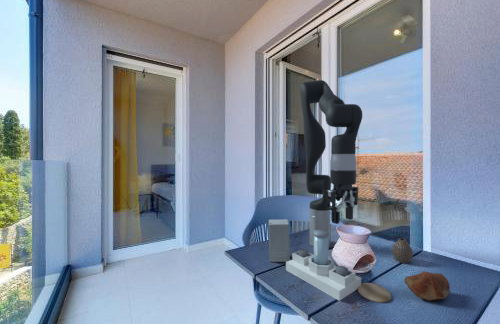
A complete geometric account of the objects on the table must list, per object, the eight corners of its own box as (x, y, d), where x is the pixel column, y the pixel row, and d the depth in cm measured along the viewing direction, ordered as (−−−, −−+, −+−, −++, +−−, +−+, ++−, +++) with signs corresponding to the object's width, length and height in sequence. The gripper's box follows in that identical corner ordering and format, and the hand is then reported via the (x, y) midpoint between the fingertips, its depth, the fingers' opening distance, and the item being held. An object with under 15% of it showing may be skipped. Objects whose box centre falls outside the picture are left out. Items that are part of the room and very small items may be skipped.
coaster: (366, 281, 76) (366, 279, 76) (396, 295, 69) (396, 293, 69) (351, 291, 71) (351, 289, 71) (382, 306, 64) (382, 304, 64)
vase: (393, 263, 89) (394, 241, 89) (390, 255, 96) (390, 235, 95) (414, 266, 87) (415, 243, 86) (409, 258, 93) (410, 237, 93)
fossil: (405, 289, 66) (414, 256, 69) (393, 287, 74) (401, 257, 77) (456, 315, 62) (462, 278, 65) (438, 310, 69) (444, 277, 73)
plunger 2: (340, 273, 75) (340, 264, 75) (350, 278, 72) (350, 269, 72) (333, 277, 73) (333, 267, 72) (343, 282, 70) (344, 272, 70)
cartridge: (319, 264, 82) (319, 228, 82) (332, 270, 78) (332, 232, 78) (310, 268, 79) (310, 231, 79) (322, 274, 75) (322, 235, 75)
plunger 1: (302, 256, 88) (302, 248, 88) (310, 259, 85) (310, 251, 85) (296, 258, 86) (296, 250, 85) (303, 262, 83) (303, 254, 83)
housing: (307, 261, 91) (307, 246, 91) (361, 286, 73) (361, 268, 73) (285, 270, 84) (285, 254, 84) (339, 300, 66) (339, 280, 66)
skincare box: (288, 255, 96) (288, 218, 96) (290, 263, 89) (290, 223, 89) (268, 254, 97) (268, 218, 97) (268, 262, 90) (268, 223, 89)
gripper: (345, 167, 78) (344, 215, 79) (318, 168, 70) (318, 222, 70) (366, 168, 72) (366, 220, 73) (340, 170, 64) (339, 228, 64)
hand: (342, 220), depth 72 cm, fingers open, 7 cm apart
